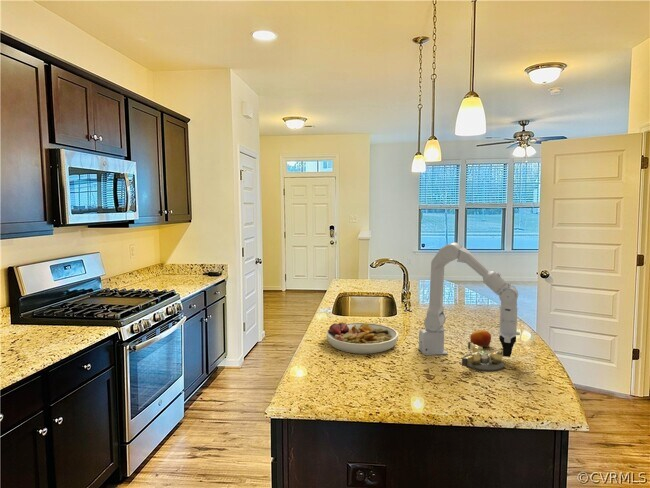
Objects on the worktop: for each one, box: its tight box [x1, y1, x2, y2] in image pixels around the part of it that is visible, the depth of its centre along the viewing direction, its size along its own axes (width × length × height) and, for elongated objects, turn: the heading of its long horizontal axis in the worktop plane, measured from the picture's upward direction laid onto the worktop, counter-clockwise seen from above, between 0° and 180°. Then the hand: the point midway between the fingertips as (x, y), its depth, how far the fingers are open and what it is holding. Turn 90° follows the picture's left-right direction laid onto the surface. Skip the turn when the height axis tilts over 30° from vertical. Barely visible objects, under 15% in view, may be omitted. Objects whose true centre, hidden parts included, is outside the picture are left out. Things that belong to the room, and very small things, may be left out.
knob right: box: [490, 348, 505, 364], centre depth 151 cm, size 9×4×4 cm, turn 138°
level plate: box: [462, 350, 505, 372], centre depth 151 cm, size 14×14×4 cm
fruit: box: [469, 329, 492, 348], centre depth 170 cm, size 8×8×8 cm
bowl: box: [326, 322, 399, 355], centre depth 175 cm, size 30×30×8 cm
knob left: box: [461, 352, 481, 367], centre depth 147 cm, size 9×4×4 cm, turn 125°
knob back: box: [467, 341, 484, 352], centre depth 158 cm, size 9×4×4 cm, turn 5°
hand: (507, 356), depth 151 cm, fingers closed
